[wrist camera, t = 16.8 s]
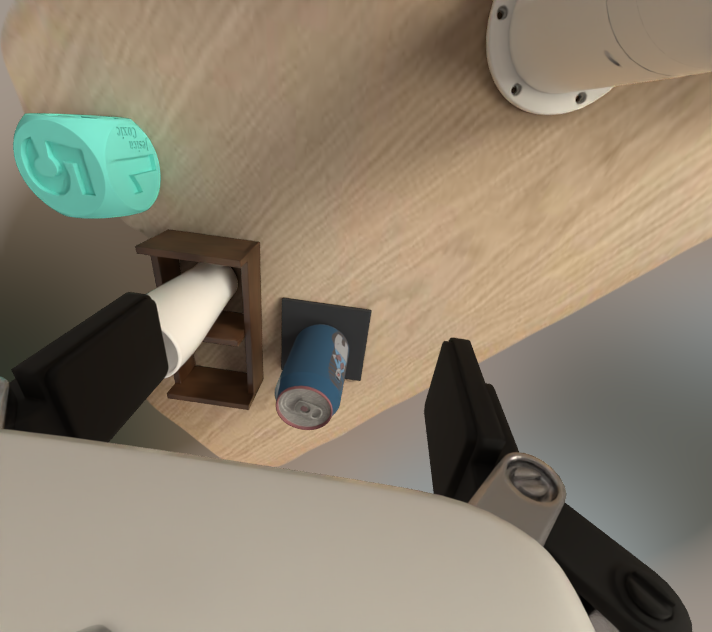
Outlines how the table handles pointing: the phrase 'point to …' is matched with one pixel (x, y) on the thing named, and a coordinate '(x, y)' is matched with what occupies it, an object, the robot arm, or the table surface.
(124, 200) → the decorative dice
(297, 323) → the coaster
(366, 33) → the table surface
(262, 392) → the table surface
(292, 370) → the soda can
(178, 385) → the drinks rack
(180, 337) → the white tall tumbler
